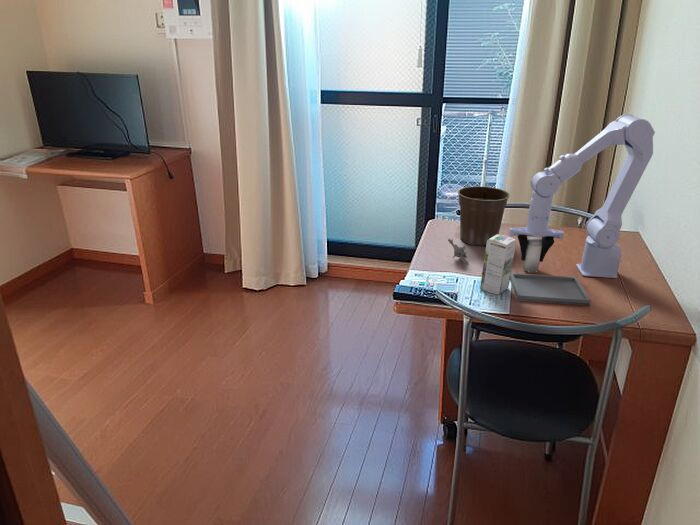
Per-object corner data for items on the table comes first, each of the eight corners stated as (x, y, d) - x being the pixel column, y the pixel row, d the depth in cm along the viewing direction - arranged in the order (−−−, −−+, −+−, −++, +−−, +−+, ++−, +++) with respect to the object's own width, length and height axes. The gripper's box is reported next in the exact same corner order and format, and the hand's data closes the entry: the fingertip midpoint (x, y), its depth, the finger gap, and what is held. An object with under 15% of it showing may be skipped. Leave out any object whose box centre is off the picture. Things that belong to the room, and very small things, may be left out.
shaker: (536, 266, 159) (541, 237, 156) (539, 272, 155) (544, 243, 152) (521, 265, 160) (525, 236, 156) (523, 271, 156) (528, 242, 152)
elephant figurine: (480, 259, 164) (475, 259, 156) (464, 270, 166) (458, 271, 158) (460, 233, 167) (454, 232, 158) (445, 245, 169) (438, 244, 160)
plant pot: (448, 243, 175) (452, 196, 169) (458, 228, 189) (463, 183, 182) (499, 252, 169) (505, 202, 163) (506, 235, 183) (512, 189, 177)
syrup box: (489, 282, 149) (495, 233, 143) (509, 288, 146) (516, 238, 140) (479, 289, 145) (485, 238, 139) (500, 295, 142) (507, 244, 136)
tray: (575, 281, 150) (576, 277, 149) (589, 305, 137) (590, 300, 137) (509, 277, 152) (509, 272, 151) (517, 300, 139) (517, 295, 139)
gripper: (514, 218, 148) (508, 263, 154) (569, 221, 147) (560, 267, 152) (510, 210, 155) (504, 254, 160) (563, 213, 153) (555, 257, 158)
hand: (531, 259), depth 156 cm, fingers closed on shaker, 4 cm apart
